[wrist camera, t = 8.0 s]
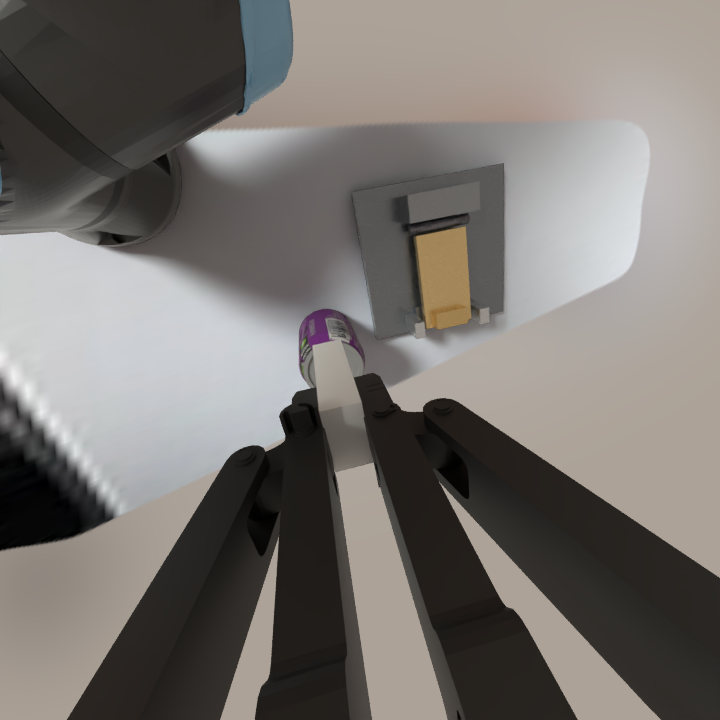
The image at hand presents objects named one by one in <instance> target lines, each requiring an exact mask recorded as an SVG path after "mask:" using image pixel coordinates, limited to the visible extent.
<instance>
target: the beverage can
mask: <svg viewBox="0 0 720 720" xmlns="http://www.w3.org/2000/svg"><path fill="white" fill-rule="evenodd" d="M339 339H341V342H342V345H343V348H344V351H345V354H346V357H347V360H348V363H349V366H350V369H351V372H352V375H353V378H354V377H358V376H362V375H363V371H364V366H365V356H364V352H363V349H362V347H361V345H360V343H359V341H358V339H357V337H356V335H355V332H354V330H353V328H352V326H351V324H350V322H349V320H348V319H347V318H346V317H345V316H344V315H343V314H341V313H340V312H338V311H335V310H331V309H322V310H318V311H315V312H313V313H311V314H310V315H308V316H307V317H306V318H305V319H304V321H303V322H302V324H301V327H300V330H299V369H300V372H301V375H302V377H303V378H304V380H305V381H306V382H307V384H308V385H309V387H310V388H315V387H316V376H315V366H314V356H313V345H317V344H321V343H325V342H330V341H334V340H339Z"/></svg>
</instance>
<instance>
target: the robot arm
mask: <svg viewBox="0 0 720 720" xmlns="http://www.w3.org/2000/svg"><path fill="white" fill-rule="evenodd" d="M292 56H293V29H292V18H291V10H290V3H289V0H0V235H8V234H24V233H40V232H56V231H57V232H59V233H61V234H64V235H66V236H68V237H70V238H73V239H75V240H78V241H81V242H84V243H88V244H93V245H99V246H110V247H115V246H125V245H132V244H137V243H141V242H144V241H146V240H149V239H151V238H153V237H154V236H156V235H157V234H159V233H160V232H161V231H162V230H164V228H165V227H166V226H167V225H168V224H169V223H170V221H171V220H172V218H173V217H174V215H175V213H176V210H177V208H178V205H179V201H180V196H181V172H180V166H179V162H178V158H177V155H176V152H175V150H174V148H176V147H178V146H179V145H181V144H183V143H185V142H186V141H188V140H190V139H192V138H193V137H195V136H197V135H199V134H200V133H202V132H204V131H206V130H207V129H209V128H211V127H213V126H214V125H216V124H217V123H220V122H221V121H223V120H225V119H226V118H228V117H230V116H232V115H233V114H236V115H237V116H240V115H243V114H245V113H246V112H247V110H248V109H249V107H250V106H251V104H253V103H254V102H256V101H258V100H259V99H261V98H262V97H264V96H265V95H267V94H268V93H270V92H272V91H273V90H275V89H276V88H278V87H279V86H280V85H281V84H282V83H283V82H284V80H285V79H286V76H287V73H288V70H289V68H290V65H291V62H292ZM313 356H314V366H315V376H316V387H315V388H311V389H306V390H302V391H298V392H296V394H295V395H294V396H293V398H292V404H291V405H289V406H288V407H286V408H285V409H284V410H283V411H281V413H280V415H279V418H280V421H281V424H282V427H283V430H284V433H285V441H284V442H283V443H282V444H281V445H279V446H277V447H275V448H273V449H271V450H269V451H267V452H265V450H264V448H263V447H260V446H254V445H252V446H248V447H244V448H242V449H240V450H238V451H236V452H235V453H233V454H232V455H231V456H230V457H229V458H228V459H227V461H226V462H225V464H224V466H223V467H222V469H221V470H220V472H219V474H218V475H217V477H216V479H215V481H214V482H213V483H212V485H211V487H210V488H209V490H208V492H207V493H206V495H205V496H204V498H203V500H202V502H201V503H200V505H199V506H198V508H197V510H196V511H195V513H194V514H193V516H192V518H191V519H190V521H189V523H188V524H187V526H186V528H185V529H184V531H183V532H182V534H181V535H180V537H179V539H178V540H177V542H176V544H175V545H174V547H173V548H172V550H171V552H170V553H169V555H168V556H167V558H166V560H165V561H164V563H163V565H162V566H161V568H160V570H159V571H158V573H157V574H156V576H155V578H154V579H153V581H152V582H151V584H150V586H149V587H148V589H147V591H146V592H145V594H144V596H143V597H142V599H141V600H140V602H139V604H138V605H137V607H136V608H135V610H134V612H133V613H132V615H131V617H130V618H129V620H128V622H127V623H126V625H125V626H124V628H123V630H122V631H121V633H120V634H119V636H118V638H117V639H116V641H115V643H114V644H113V646H112V648H111V649H110V651H109V652H108V654H107V656H106V657H105V659H104V660H103V662H102V664H101V665H100V667H99V669H98V670H97V672H96V673H95V675H94V677H93V678H92V680H91V682H90V683H89V685H88V686H87V688H86V690H85V691H84V693H83V694H82V696H81V698H80V699H79V701H78V703H77V704H76V706H75V707H74V709H73V711H72V712H71V714H70V716H69V717H68V719H67V720H220V718H221V715H222V712H223V709H224V705H225V702H226V699H227V696H228V693H229V690H230V687H231V684H232V681H233V677H234V674H235V671H236V668H237V665H238V662H239V659H240V655H241V652H242V649H243V646H244V643H245V640H246V637H247V634H248V630H249V627H250V624H251V621H252V618H253V615H254V612H255V609H256V606H257V602H258V599H259V596H260V593H261V590H262V587H263V584H264V581H265V577H266V574H267V571H268V568H269V565H270V562H271V559H272V556H273V552H274V549H275V546H276V543H277V540H278V537H279V546H278V562H277V577H276V594H275V609H274V624H273V640H272V657H271V668H270V675H269V678H268V680H267V681H266V682H265V683H264V684H263V685H262V687H261V690H260V693H259V696H258V701H257V708H256V715H255V720H372V716H371V710H370V703H369V696H368V689H367V683H366V675H365V669H364V662H363V655H362V648H361V641H360V634H359V627H358V620H357V614H356V607H355V600H354V593H353V586H352V579H351V572H350V566H349V559H348V551H347V545H346V538H345V531H344V524H343V517H342V510H341V503H340V496H339V490H338V483H337V479H336V475H335V472H338V471H342V470H345V469H349V468H353V467H357V466H361V465H365V464H369V463H373V462H374V465H375V470H376V475H377V480H378V485H379V487H380V488H381V491H382V495H383V498H384V501H385V505H386V508H387V512H388V515H389V518H390V521H391V525H392V529H393V532H394V535H395V539H396V542H397V545H398V549H399V552H400V556H401V559H402V562H403V566H404V569H405V573H406V576H407V579H408V583H409V586H410V590H411V593H412V596H413V600H414V603H415V607H416V610H417V613H418V617H419V620H420V624H421V627H422V630H423V634H424V637H425V640H426V644H427V647H428V651H429V654H430V658H431V661H432V664H433V668H434V671H435V674H436V678H437V681H438V685H439V688H440V692H441V695H442V698H443V702H444V706H445V710H446V714H447V718H448V720H577V718H576V716H575V714H574V712H573V710H572V709H571V707H570V705H569V704H568V702H567V700H566V698H565V696H564V695H563V692H562V691H561V689H560V687H559V685H558V683H557V682H556V680H555V678H554V676H553V674H552V672H551V671H550V669H549V667H548V665H547V663H546V662H545V660H544V658H543V656H542V655H541V653H540V651H539V649H538V647H537V645H536V643H535V642H534V640H533V638H532V636H531V635H530V633H529V631H528V629H527V628H526V626H525V624H524V623H523V621H522V619H521V618H520V617H519V615H518V614H517V613H516V612H515V611H514V610H513V609H511V608H508V607H506V606H505V605H504V603H503V602H502V601H501V599H500V597H499V595H498V594H497V592H496V590H495V588H494V586H493V584H492V582H491V580H490V578H489V576H488V574H487V573H486V571H485V569H484V567H483V565H482V563H481V561H480V559H479V557H478V555H477V554H476V552H475V550H474V548H473V546H472V544H471V542H470V540H469V538H468V536H467V534H466V532H465V531H464V529H463V527H462V525H461V523H460V521H459V519H458V517H457V515H456V513H455V511H454V510H453V508H452V506H451V504H450V502H449V500H448V498H447V496H446V494H445V492H444V490H443V489H442V487H441V485H440V483H441V484H442V485H443V486H444V487H445V488H446V489H447V491H448V492H449V493H450V494H451V495H452V496H453V497H454V498H455V499H456V500H457V501H458V502H459V503H460V504H461V506H462V507H463V508H464V509H465V510H466V511H467V512H468V513H469V514H470V515H471V516H472V517H473V519H474V520H475V521H476V522H477V523H478V524H479V525H480V526H481V527H482V528H483V529H484V530H485V531H486V533H488V535H489V536H490V537H491V538H492V539H493V540H494V541H495V542H496V543H497V544H498V545H499V547H500V548H501V549H502V550H503V551H504V552H505V553H506V554H507V555H508V556H509V557H510V558H511V559H512V561H513V562H514V563H515V564H516V565H517V566H518V567H519V568H520V569H521V570H522V571H523V572H524V573H525V575H526V576H528V578H529V579H530V580H531V581H532V582H533V583H534V584H535V585H536V586H537V587H538V589H539V590H540V591H541V592H542V593H543V594H544V595H545V596H546V597H547V598H548V599H549V600H550V601H551V602H552V604H553V605H554V606H555V607H556V608H557V609H558V610H559V611H560V612H561V613H562V614H563V615H564V617H565V618H566V619H567V620H568V621H569V622H570V623H571V624H572V625H573V626H574V627H575V628H576V629H577V631H578V632H579V633H580V634H581V635H582V636H583V637H584V638H585V639H586V640H587V641H588V642H589V643H590V645H592V647H593V648H594V649H595V650H596V651H597V652H598V653H599V654H600V655H601V656H602V657H603V658H604V660H605V661H606V662H607V663H608V664H609V665H610V666H611V667H612V668H613V669H614V670H615V671H616V673H617V674H618V675H619V676H620V677H621V678H622V679H623V680H624V681H625V682H626V683H627V684H628V685H629V687H630V688H631V689H632V690H633V691H634V692H635V693H636V694H637V695H638V696H639V697H640V698H641V699H642V701H643V702H644V703H645V704H646V705H647V706H648V707H649V708H650V709H651V710H652V711H653V712H654V713H655V714H656V715H657V716H658V717H659V718H660V719H661V720H720V578H719V577H717V576H716V575H715V574H713V573H712V572H710V571H708V570H707V569H706V568H704V567H702V566H701V565H700V564H698V563H696V562H695V561H694V560H692V559H691V558H689V557H688V556H686V555H685V554H683V553H682V552H680V551H679V550H677V549H676V548H674V547H673V546H671V545H670V544H668V543H667V542H665V541H664V540H662V539H661V538H659V537H658V536H656V535H655V534H653V533H652V532H651V531H649V530H648V529H646V528H645V527H643V526H642V525H640V524H639V523H637V522H636V521H634V520H633V519H631V518H630V517H628V516H627V515H625V514H624V513H622V512H621V511H619V510H618V509H616V508H615V507H613V506H612V505H610V504H609V503H607V502H606V501H604V500H603V499H601V498H600V497H598V496H597V495H595V494H594V493H592V492H591V491H589V490H588V489H586V488H585V487H584V486H582V485H581V484H579V483H578V482H576V481H575V480H573V479H572V478H570V477H569V476H567V475H566V474H564V473H563V472H561V471H560V470H558V469H556V468H555V467H554V466H552V465H551V464H549V463H548V462H546V461H545V460H543V459H542V458H540V457H539V456H537V455H536V454H534V453H533V452H532V451H530V450H529V449H527V448H526V447H524V446H523V445H521V444H519V443H518V442H517V441H515V440H514V439H512V438H510V437H509V436H508V435H506V434H505V433H503V432H502V431H500V430H499V429H497V428H496V427H494V426H493V425H491V424H490V423H488V422H487V421H485V420H484V419H482V418H481V417H479V416H478V415H476V414H475V413H473V412H472V411H470V410H469V409H467V408H466V407H465V406H463V405H462V404H460V403H459V402H456V401H454V400H452V399H446V398H440V399H435V400H431V401H429V402H428V403H426V404H425V406H424V407H423V412H406V411H403V410H401V408H400V407H399V406H398V405H397V404H395V403H393V401H392V399H391V397H390V395H389V393H388V391H387V389H386V388H385V385H384V384H383V381H382V380H381V378H380V376H378V375H376V374H374V373H371V374H366V375H362V376H358V377H354V378H353V375H352V372H351V369H350V366H349V363H348V360H347V357H346V354H345V351H344V348H343V345H342V342H341V339H339V340H334V341H330V342H325V343H321V344H317V345H313ZM334 470H335V472H334ZM439 482H440V483H439Z"/></svg>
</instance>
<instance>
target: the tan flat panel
mask: <svg viewBox="0 0 720 720" xmlns="http://www.w3.org/2000/svg"><path fill="white" fill-rule="evenodd" d="M469 221H470V216H469V214H468V213H464V214H459V215H454V216H449V217H444V218H439V219H434V220H429V221H424V222H419V223H414V224H409V225H408V232H409V235H415V234H420V233H425V232H430V231H435V230H440V229H445V228H450V227H455V226H460V225H464V224H468V223H469ZM413 237H414V245H415V254H416V262H417V271H418V279H419V288H420V296H421V305H422V313H423V321H424V324H425V328H426V329H429V328H436V329H437V330H439V329H443V328H448V327H452V326H456V325H461V324H465V323H468V320H469V319H471V304H470V288H469V272H468V255H467V239H466V226H463V227H458V228H453V229H448V230H443V231H438V232H433V233H428V234H423V235H418V236H413Z"/></svg>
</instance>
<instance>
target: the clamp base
mask: <svg viewBox="0 0 720 720" xmlns="http://www.w3.org/2000/svg"><path fill="white" fill-rule="evenodd" d="M351 194H352V200H353V206H354V212H355V218H356V224H357V230H358V236H359V242H360V248H361V254H362V260H363V266H364V272H365V278H366V284H367V290H368V296H369V302H370V308H371V314H372V320H373V326H374V332H375V337H376V338H377V340H378V339H383V338H387V337H392V336H396V335H400V334H405V333H409V332H410V333H411V334H412V335H413V336H414V337H415V338H416V339H420V338H424V337H426V334H425V329H426V328H425V324H424V321H423V313H422V305H421V296H420V288H419V279H418V271H417V262H416V254H415V245H414V237H413V236H418V235H423V234H428V233H433V232H438V231H443V230H448V229H453V228H458V227H463V226H466V239H467V255H468V272H469V288H470V304H471V319H472V320H474V321H475V322H477V323H479V324H480V325H481V324H485V323H489V314H493V313H497V312H502V311H503V195H504V163H503V164H498V165H493V166H487V167H482V168H477V169H472V170H466V171H461V172H456V173H450V174H445V175H440V176H435V177H429V178H424V179H419V180H413V181H408V182H403V183H398V184H392V185H387V186H382V187H377V188H371V189H366V190H361V191H355V192H352V193H351ZM464 213H468V214H469V216H470V221H469V223H468V224H464V225H460V226H455V227H450V228H445V229H440V230H435V231H430V232H425V233H420V234H415V235H409V232H408V225H409V224H414V223H419V222H424V221H429V220H434V219H439V218H444V217H449V216H454V215H459V214H464Z"/></svg>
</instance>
